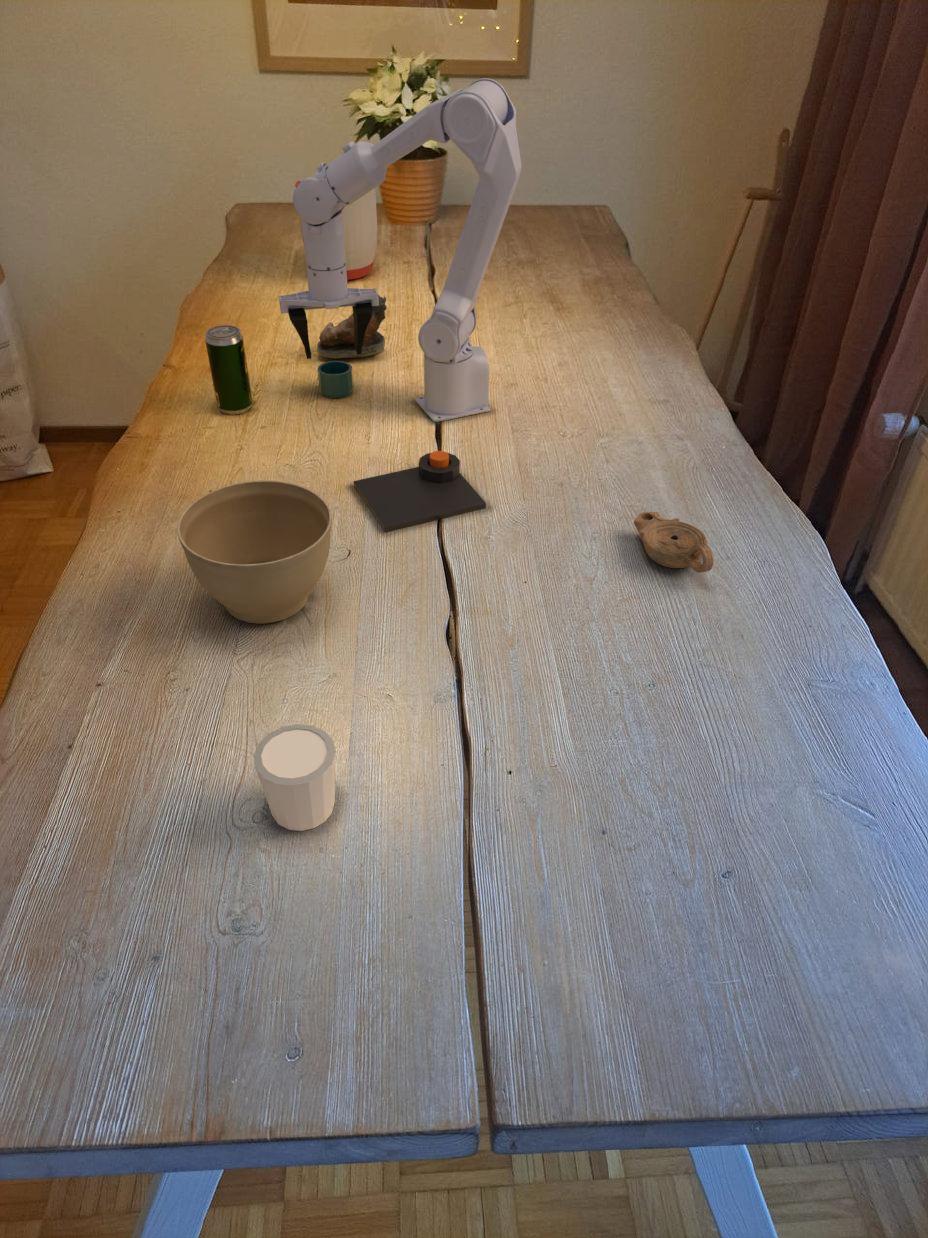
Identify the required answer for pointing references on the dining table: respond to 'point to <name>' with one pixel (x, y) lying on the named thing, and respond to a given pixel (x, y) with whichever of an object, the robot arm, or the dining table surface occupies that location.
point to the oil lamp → (673, 542)
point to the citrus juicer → (359, 234)
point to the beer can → (229, 369)
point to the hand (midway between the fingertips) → (333, 353)
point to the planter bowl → (257, 546)
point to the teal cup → (335, 379)
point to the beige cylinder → (297, 775)
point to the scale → (419, 494)
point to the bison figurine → (342, 336)
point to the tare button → (439, 459)
